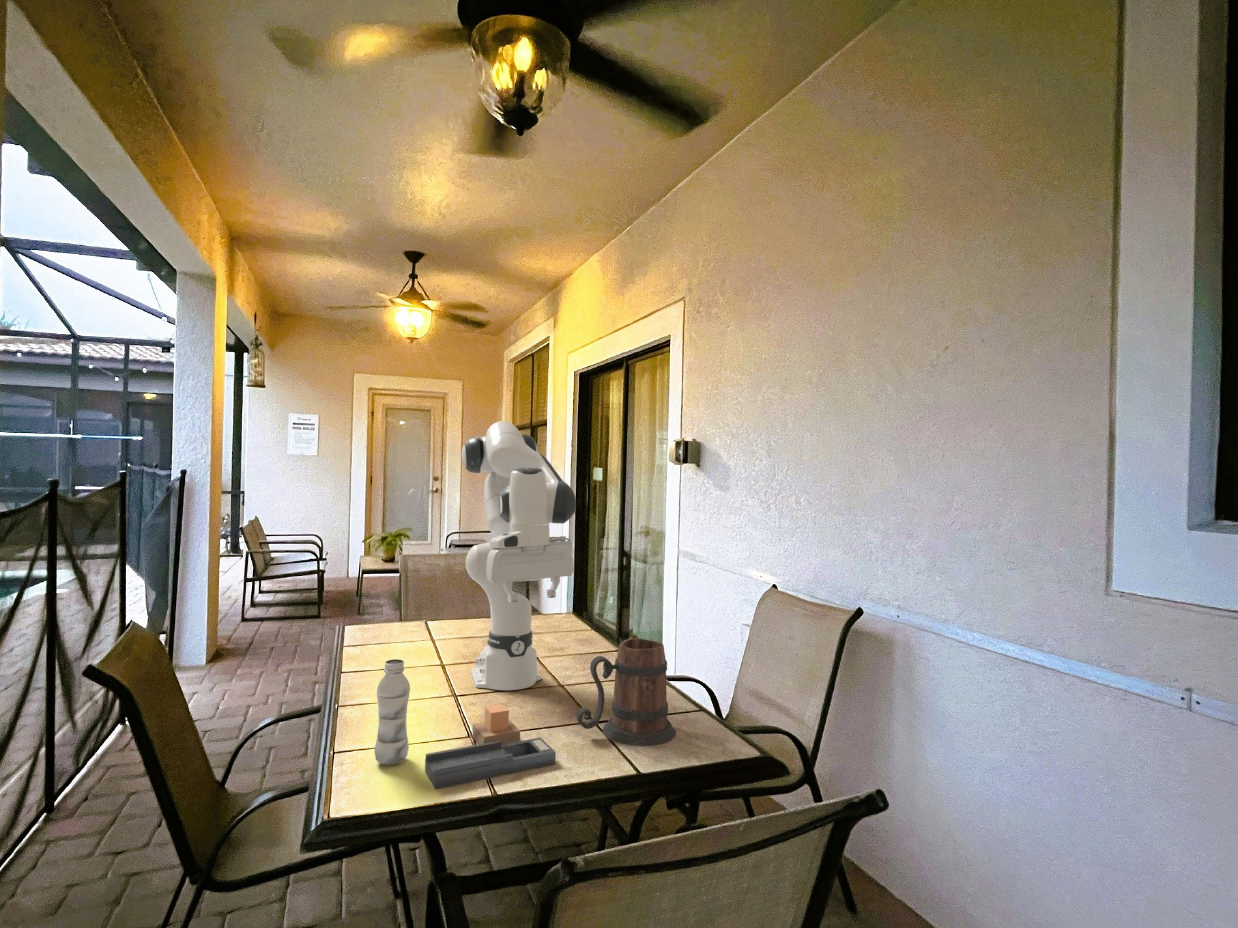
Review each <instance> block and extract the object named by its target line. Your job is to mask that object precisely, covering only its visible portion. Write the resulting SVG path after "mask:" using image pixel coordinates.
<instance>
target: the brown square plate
mask: <svg viewBox="0 0 1238 928" xmlns="http://www.w3.org/2000/svg"><path fill="white" fill-rule="evenodd" d="M472 739H473V740H474V741H475V743H476V745H478V744H483V743H489V742H494V741H501V745H502V744H508V743H513V742H518V741H521V729H519V728H518V727H517V726H516V725H515V723H513V721H512V720H510V719H509V721H508V729H505V730H499V731H494V732H490V731H489V730H488V729H487V728H486V727H485V721H482V722H475V723H472Z"/></svg>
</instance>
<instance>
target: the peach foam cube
mask: <svg viewBox="0 0 1238 928" xmlns="http://www.w3.org/2000/svg"><path fill="white" fill-rule="evenodd" d="M509 715H510V711H509V709H508V708H507V707H506V706H505V705H504V704H497V705H490V706H485V707H484V722H485V727H486V728H487V729H488V730H489V731H490V732H494V731H499V730H505V729H508V721H509V720H510V719H509V717H510V716H509Z"/></svg>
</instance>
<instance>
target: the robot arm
mask: <svg viewBox="0 0 1238 928" xmlns="http://www.w3.org/2000/svg"><path fill="white" fill-rule="evenodd" d="M461 460H462V464H463V466H464V467H465V469H466V470H467V471H468V473H469V472H470V473H473V474H480V473H488V475H487V476H486V478H485V481H484V491H483V497H484V509H485V517H486V522H487V523H486V524H487V528H488V529H489V532H490V533H491V534H492V535H494V537H493V538H491V539H490V540H489V542H484V543H478V544H475V545H473V546H472V547H471V548H470V549H469V550H468V552H467V554H466V557H465V569H466V572H467V574H468V575H469V577H470V579H472V580H473V581H474V582H476V583H477V584H478V585H480V587H481V588H482V590H483V591H484V592H485V594H486V596H487V599H488V602H489V608H490V630H489V633H488V636H487V645H486V646H485V647H484V649H483V650H481V651H480V653H479V656H476V657H475V667H473V668H471V670H470V674H471V676H472V679H473V682H474V685H475V687H476V688H478V689H479V688H481V689H491V690H496V691H517V690H524V689H527V688H530V687H533V685H535V684H536V682H538V681H539V680H540V681H541V680H542V675H541V674H540V673H539V672H538V660H537V658H538V657H537V650H536V649H535V648H534V647H533V637H534V636H533V631H532V610H533V609H532V604H531V601H530V600H529V599H528V598H527V597H526V596H524V595H522V594H520V593H517V592H515V591H514V590H513V589H512V586H513V583H514V582H534V581H539V580H544V579H550V582H552V583H551V586H550V589H546V598H548V599H553V598H554V599H555V598H556V597H557V595H556V594H557V591H556V590H557V589H558V587H559V584H560V583H561V577H562V578H563V577H572V576H573V574H574V572H575V567H574V559H573V554H572V550H573V543H572V541H571V540H570V538H568V537H567V536H566V535H565V536H564V535H563V536H550V524H563V525H564V524H565V523H567V522H568V521H569V520H570V519H571V518H572V517H573V516H574V515H575V512H576V510H577V509H576V508H577V501H576V500H577V499H576V495H575V493H574V490H573V488H572V487H571V486H570V485H569V484H568V483H567V482H565V481H564V480H563V479H562V478H561V476H560V475H559V473H558V472H557V470H555V468H554V467H553V466H552V463H550V461H549V460H548V459H547V458H546V456H544V455H543V454H541V453H539V450H538V444H537V442H536V440H535V438H534V437H533V436H532V435H530V434H529V435H528V434H524V433H521V431H520V430H519V429H518V428H517V427H516V426H515V425H514V424H513V423H512V422H510V421H504V420H499V421H497V422H495V423H493V424H491V425H490V426H489V428H488V429H487V431H486V434H485V436H474V437H471V438H469V439H467V440H466V441H465V442H464V443H463V447H462V450H461Z"/></svg>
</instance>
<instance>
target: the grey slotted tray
mask: <svg viewBox="0 0 1238 928" xmlns="http://www.w3.org/2000/svg"><path fill="white" fill-rule="evenodd" d="M556 753H557V752H556V750H554V749H553V748H552V747H551V746H550V745H549V744H548V743H547V742H546V741H545V740H544V739H542V738H541V737H535V738H529V739H524V740H520V741H518V742H513V743H508V744H502V745H501V741H494V742H489V743H483V744H473V745H467V746H462V747H457V748H450V749H447V750H441V751H434V752H428V753H426V754H425V760H424V772H425V774H426V776H427V778H428V780H429V782H430V783H431V785H432V787H433V789H434V790H439V789H444V788H449V787H454V786H458V785H463V784H467V783H473V782H478V781H483V780H487V779H491V778H497V777H501V776H507V775H511V774H517V773H521V772H525V771H530V770H535V769H540V768H545V767H549V766H554V765H556Z"/></svg>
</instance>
